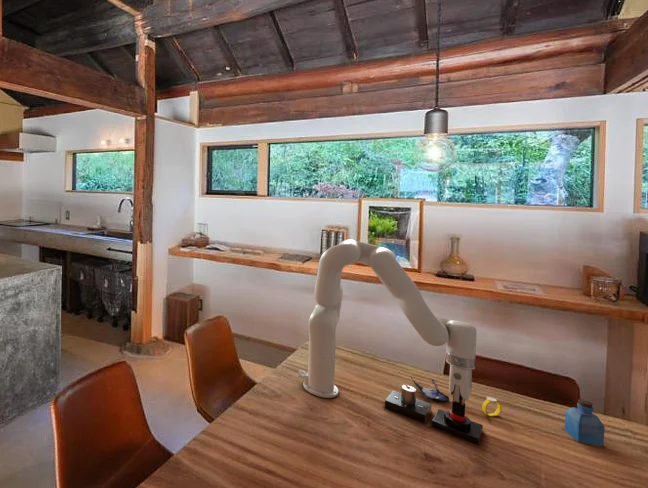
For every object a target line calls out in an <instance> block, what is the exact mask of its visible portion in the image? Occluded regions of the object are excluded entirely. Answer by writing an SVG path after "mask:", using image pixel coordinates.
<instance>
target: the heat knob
mask: <svg viewBox="0 0 648 488" xmlns="http://www.w3.org/2000/svg"><path fill="white" fill-rule="evenodd" d="M400 393H401V401H402V402H403V403H405V404H407V405H415V404H416V399H417V389H416V388H415V387H414V386H411V385H409V384H407V383H406V384H402V385H401V389H400Z"/></svg>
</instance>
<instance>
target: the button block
mask: <svg viewBox="0 0 648 488" xmlns="http://www.w3.org/2000/svg"><path fill="white" fill-rule="evenodd" d="M450 411H451V410H446V411H445V410H443V409H440V408H438V409H437V410H436V413H435V415H434V416H433V418H432V420H431V427H432V428H434V429H436V430H439V431H441V432H444V433H446V434H449V435H452V436H454V437H456V438H459V439H462V440H464V441H467V442H468V443H472V444H474V445H477V446H479V444H480V440H481V437H482V435H483V430H484V429H483V428H484V425H483V424H482V423H479V422H476V421H473V420H471V419H470V418H469V417H468V416H466V415H465V422H460V421H457V420H454V419H452V418H451V417H450Z"/></svg>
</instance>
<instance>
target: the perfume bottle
mask: <svg viewBox="0 0 648 488" xmlns="http://www.w3.org/2000/svg"><path fill="white" fill-rule="evenodd" d="M577 400H578V402H577V404H576V405H577V407H574V406H572V407H571V408H569V409H568V410H566V411H565V414H564V415H565V418H564V431H565V432H566V433H567V434H569V435H570V437H572V438H573V439H574V440H575V441H576V442H578V443H582V444H588V445H593V446H598V447H604V444H605V429H606V427H605V425H604V424H603V422H602V421H601V419H600V418H599V416H598V415H597V414H595V413H593V412H594V407H593V406H594V404H593V402H592V401H589V400H586V399H582V398H578V399H577Z"/></svg>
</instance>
